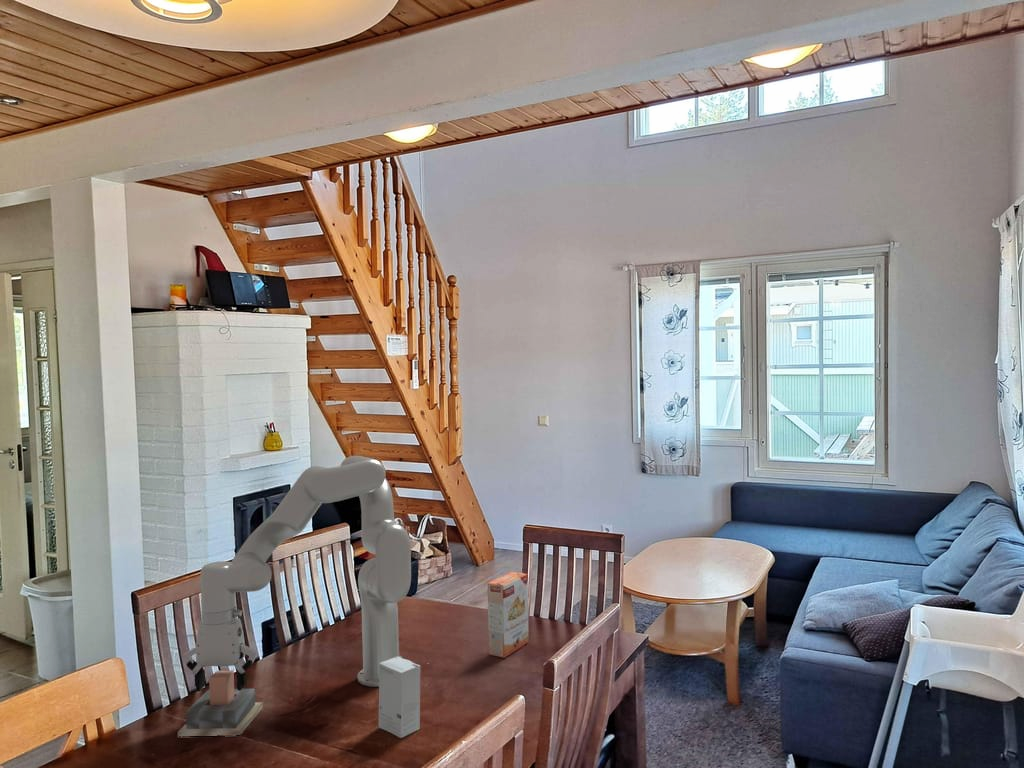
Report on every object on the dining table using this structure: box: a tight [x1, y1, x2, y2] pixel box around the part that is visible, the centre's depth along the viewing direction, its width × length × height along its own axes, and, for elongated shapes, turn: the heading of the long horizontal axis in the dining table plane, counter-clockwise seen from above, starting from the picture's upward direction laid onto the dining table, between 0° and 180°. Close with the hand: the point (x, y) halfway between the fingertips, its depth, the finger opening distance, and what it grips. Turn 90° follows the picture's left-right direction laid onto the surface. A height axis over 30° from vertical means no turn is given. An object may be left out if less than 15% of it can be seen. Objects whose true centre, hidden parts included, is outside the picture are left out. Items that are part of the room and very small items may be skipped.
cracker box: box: [487, 571, 530, 659], centre depth 203 cm, size 14×6×21 cm, turn 148°
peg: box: [208, 670, 235, 705], centre depth 163 cm, size 4×4×10 cm
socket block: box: [177, 688, 264, 738], centre depth 163 cm, size 14×14×5 cm
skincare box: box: [378, 657, 421, 739], centre depth 157 cm, size 8×6×15 cm
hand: (221, 688), depth 163 cm, fingers open, 9 cm apart
